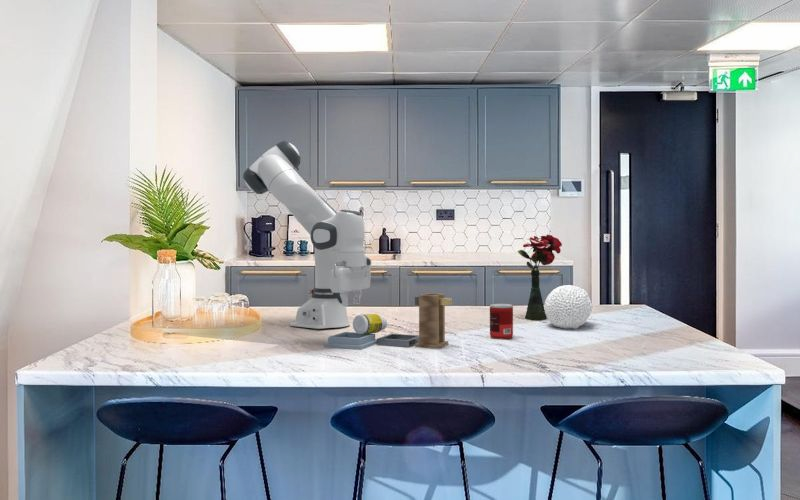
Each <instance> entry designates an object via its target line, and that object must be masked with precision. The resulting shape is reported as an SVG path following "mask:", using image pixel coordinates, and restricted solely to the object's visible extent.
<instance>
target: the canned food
mask: <svg viewBox="0 0 800 500" xmlns="http://www.w3.org/2000/svg"><path fill="white" fill-rule="evenodd" d="M513 335H514V306H513V304H509V303H494V304H492V303H491V304H490V305H489V337H490V338H491V339H496V340H508V339H512V338H513Z"/></svg>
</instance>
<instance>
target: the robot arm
mask: <svg viewBox="0 0 800 500" xmlns="http://www.w3.org/2000/svg"><path fill="white" fill-rule="evenodd" d="M301 160H302V159H301V156H300V152H299V150H298V148H297V147H296V146H295V145H294V144H293V143H291V142H289V141H287V140H282V141H279V142H277V143H276V144H275V146H273V147H270V148H269V149H268V150H267V151H266V152H264V153H262V154H261V156H260V157H259V158H257V159H256V160H255V162H253V163H252V164H251V165H250V166H249V167H247V168H246V169H245V170H244V172H243V174H242V175H243V176H242V178H243V182H244V184H245V185H246V187H247V188H248V189H249V190H250V191H252V193H255V194H256V195H264V194H265V193H267V192H270V193H271V194H272V196H273V197H274V198H275V199H276V200H277V201H278V202H280V203H281V204H282V205H284V207H285V208H286V209H287V210H288V211H289V212H290V214H291V215H292V216H293V217H294V219H296V221H297V222H298V224H300V225H301V226H302V227H303V229H304V230H305V231H306V232H307V233H308V235H309V236H310V242H311V243H312V244H311V245H313V247H314V250H313V251H314V267H315V268H314V269H315V270H314V271H315V272H314V274H315V275H314V276H315V279H314V281H315V283H314V285H315V287H314V288H313V289H311V290H309V293H308V294H309V295H310V294H311V296H310V298H309V300H307V301H305V303H303V304H302V305H301V306H300V307H298V308H297V311H296V314H295V315H296V316H295V320H294V321H290V323H289V326H291V327H300V328H308V329H309V328H310V329H316V330H321V329H330V328H344V327H348V326H350V321H349V317H348V312H347V307H348V306H350V300H349V298H348V295H349V292H353V293H354V296H353V298H352V303H353V305H358V304H359V305H360V303H361V297H362V294H363V290H365V289H369V288H370V287H371V280H372V278H371V277H372V275H371V274H372V273H371V271H372V270H371V266H372V259H371V258H369V257H368V256H367V255H366V252H365V251H366V249H365V247H364V242H365V237H366V236H365V223H364V217H363V215H362V213H360V212H359V211H355V210H350V209H349V210H348V209H341V210H338V211H336V210H335V209H334V207H332V206H331V205H330V204H329V203H328V202H327V201H326V200H325V199H324V198H323V197H322V196H320V195H319V194H318V193H317V192H316V191H315V190H314V189H313V188H312V187H311V186H310V185H309V184H308V183H307V181H305V180H304V179H303V178H302V176H300V174H298V172H297V171H299V170H300V169H299V166H300V165H301ZM295 169H296V170H297V171H296V170H295Z"/></svg>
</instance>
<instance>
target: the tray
mask: <svg viewBox="0 0 800 500" xmlns="http://www.w3.org/2000/svg"><path fill="white" fill-rule="evenodd" d="M327 341H328V342H324V343H323V347H324V348H336V349H337V348H338V349H346V350H347V349H349V350H360V351H362V350H363V349H367V348H370V347H372V346H375V345H377V338H376V333H369V334H358V333H356V332H355V331H354V332H352V331H351V332H350V331H343V332H340V333H337V334H336V333H335V334H333V335H330V336H328V338H327Z"/></svg>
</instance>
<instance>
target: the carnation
mask: <svg viewBox="0 0 800 500" xmlns="http://www.w3.org/2000/svg"><path fill="white" fill-rule="evenodd" d="M539 237H540V239H539ZM539 237H538V236H536V235H533V237H530V236H529V238H528V237H526V240H528V241H529V242H530V243H529V242H525V243H523V245H522V247H523V248H529V247H531V248H530V250H529V251H531V250H532V254H531V256H530V255H529V254H528V253H527V251H525V250H524V249H518V250H517V253H518V254H519V255H520V256H522V257H523V258H525V259H528V260H529V261H526V266H527V267H528V268H529V269H531V270H530V275H531V281H530V282H531V288H530V293H529V299H528V303H527V308H526V312H525V316H524V319H525V320H529V321H545V320H548V317H547V315H546V312H545V308H544V306H545V304H544V302H543V297H542V291H541V287H540V269H539V267H540V266H539V265H540V263H541V265H542V266H548V265H551V264H552V263H553V262H554V260H555V257H556V256H555V254H554V252H555V253H556V254H560V253H561V247H562V246H563V244H562V241H561V240H560V239H559V238H557V237H555V236H553V235H551V234H546V235H541V236H539ZM553 251H554V252H553ZM532 262H533V263H534V266H533V264H532Z"/></svg>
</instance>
